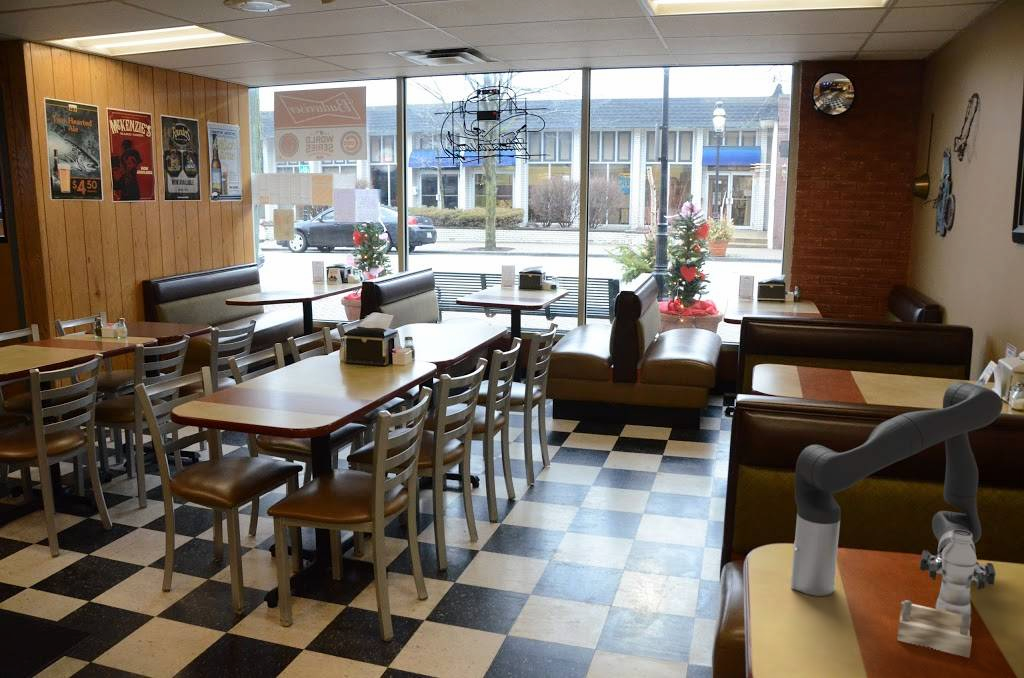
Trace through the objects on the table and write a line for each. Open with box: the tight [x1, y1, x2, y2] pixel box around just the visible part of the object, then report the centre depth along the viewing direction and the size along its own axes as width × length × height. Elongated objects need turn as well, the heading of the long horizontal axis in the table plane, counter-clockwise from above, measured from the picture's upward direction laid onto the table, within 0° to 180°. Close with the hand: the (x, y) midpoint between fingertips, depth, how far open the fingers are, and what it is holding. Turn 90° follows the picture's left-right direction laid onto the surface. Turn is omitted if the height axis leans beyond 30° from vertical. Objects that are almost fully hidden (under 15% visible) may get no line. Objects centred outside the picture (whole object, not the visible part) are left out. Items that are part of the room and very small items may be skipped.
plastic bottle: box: [935, 529, 978, 616], centre depth 175 cm, size 6×7×20 cm
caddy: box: [896, 599, 973, 659], centre depth 169 cm, size 13×10×6 cm
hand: (957, 580), depth 173 cm, fingers open, 8 cm apart
